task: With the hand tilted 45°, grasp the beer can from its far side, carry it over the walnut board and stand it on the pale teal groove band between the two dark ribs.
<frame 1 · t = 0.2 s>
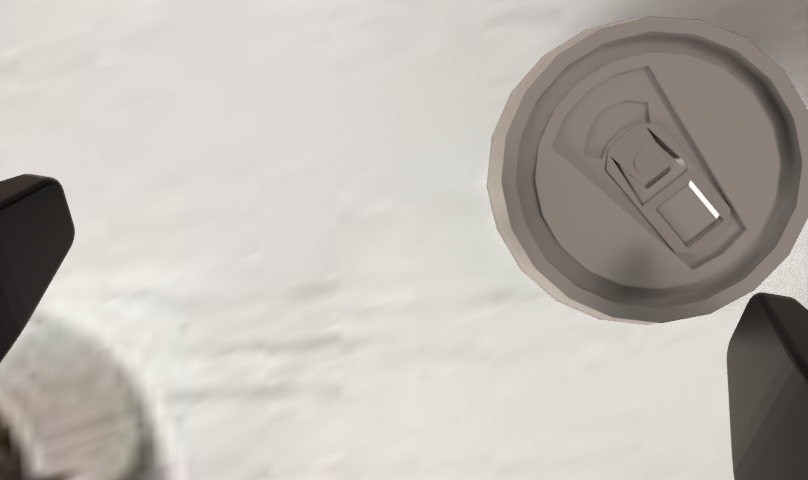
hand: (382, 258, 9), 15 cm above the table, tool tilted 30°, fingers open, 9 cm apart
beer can: (566, 180, 23), on the table
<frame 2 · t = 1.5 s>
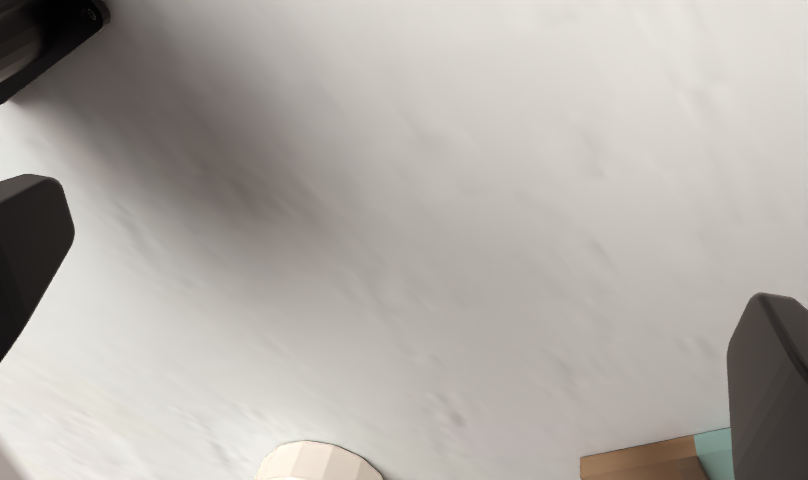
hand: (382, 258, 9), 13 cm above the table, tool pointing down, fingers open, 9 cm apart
white cup: (327, 478, 35), on the table
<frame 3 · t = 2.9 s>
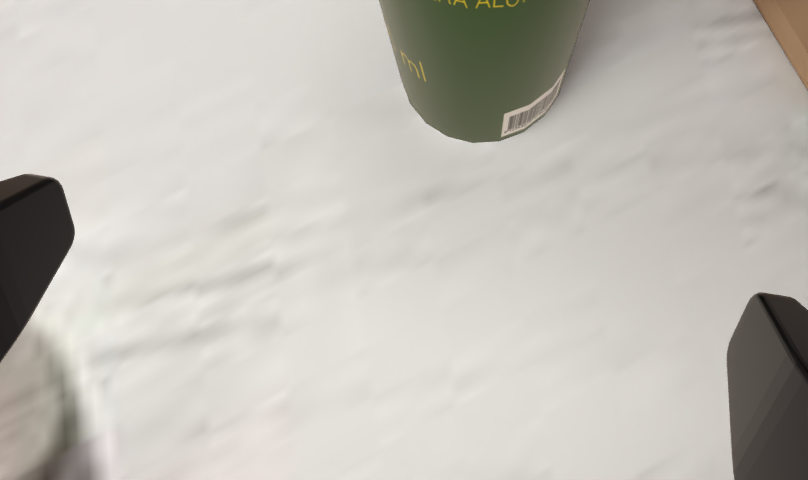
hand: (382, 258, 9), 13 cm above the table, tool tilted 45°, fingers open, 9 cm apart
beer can: (481, 75, 23), on the table
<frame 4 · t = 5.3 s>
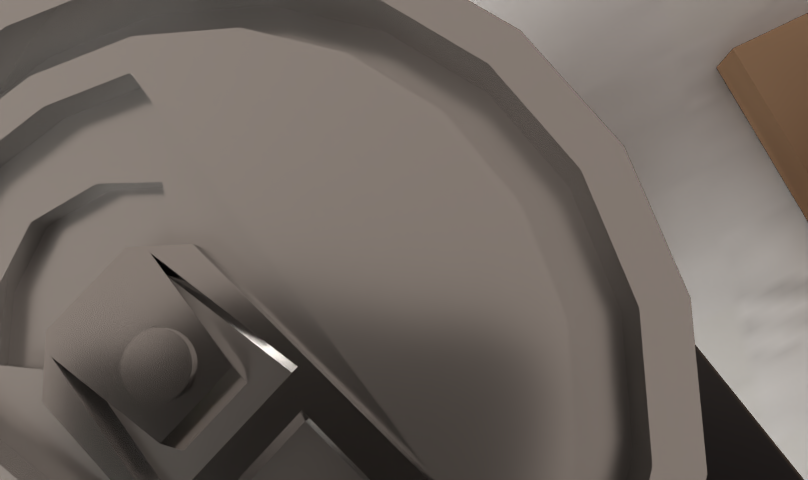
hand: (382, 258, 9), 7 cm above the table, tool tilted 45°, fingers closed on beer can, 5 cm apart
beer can: (412, 358, 15), on the table, touching gripper
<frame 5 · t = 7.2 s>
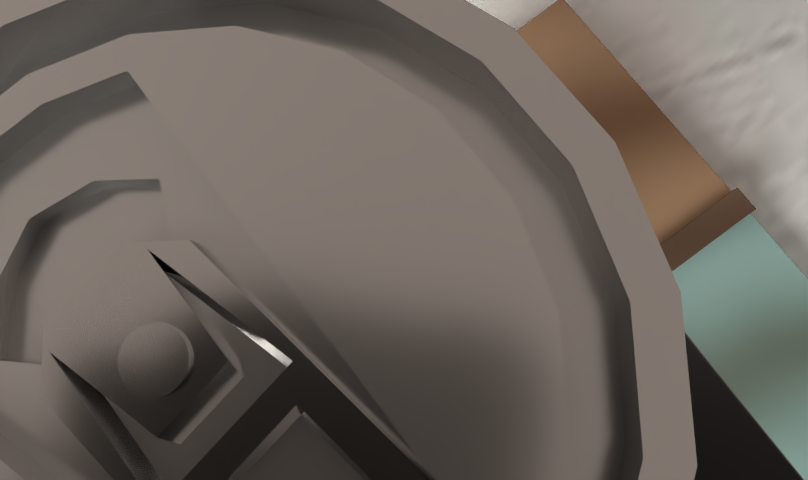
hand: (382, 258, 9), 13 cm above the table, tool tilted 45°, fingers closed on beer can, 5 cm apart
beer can: (411, 356, 15), point 7 cm above the table, touching gripper
board: (692, 339, 21), on the table
when the fingers open (8 cm above the table, at t = 9.2 s): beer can stays where it is, resting on board.
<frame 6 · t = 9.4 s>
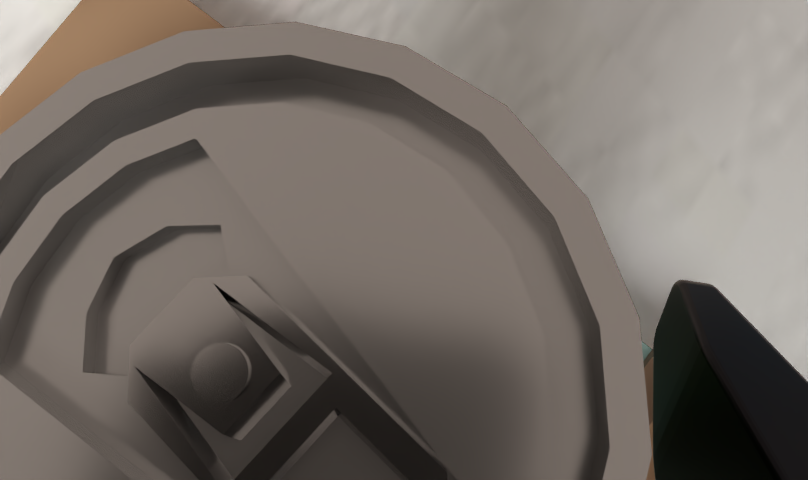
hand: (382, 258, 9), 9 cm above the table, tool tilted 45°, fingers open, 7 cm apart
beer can: (415, 365, 16), point 1 cm above the table, touching board
board: (358, 306, 17), on the table
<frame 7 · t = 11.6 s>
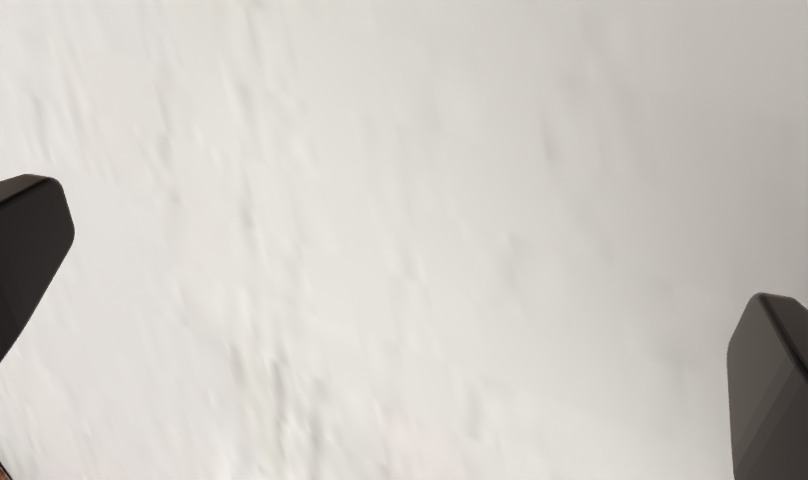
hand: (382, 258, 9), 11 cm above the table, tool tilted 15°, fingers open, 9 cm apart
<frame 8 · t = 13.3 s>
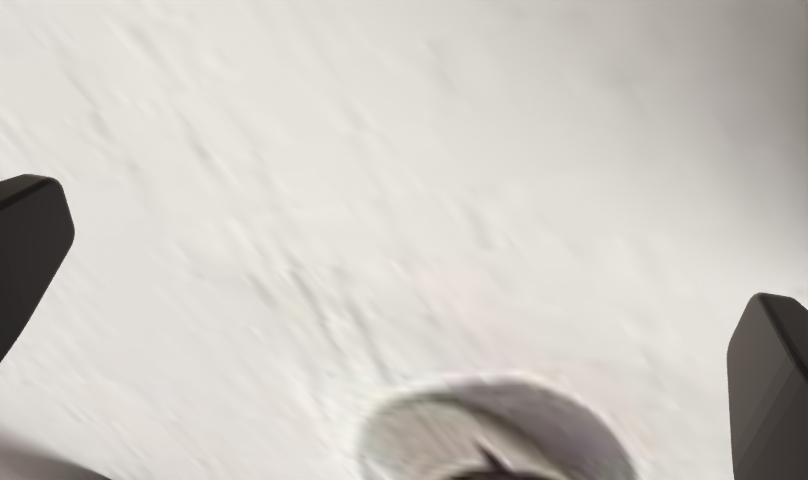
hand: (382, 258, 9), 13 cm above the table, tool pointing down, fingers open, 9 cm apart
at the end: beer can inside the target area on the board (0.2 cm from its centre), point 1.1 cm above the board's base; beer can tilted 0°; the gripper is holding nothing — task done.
